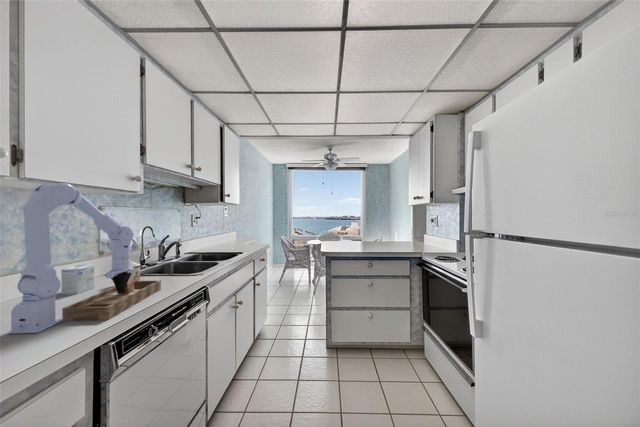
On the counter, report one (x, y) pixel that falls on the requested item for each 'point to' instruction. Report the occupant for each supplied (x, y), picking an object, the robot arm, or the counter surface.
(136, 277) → the teacup with lid
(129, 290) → the block
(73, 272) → the light bulb box
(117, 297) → the track
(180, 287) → the counter surface
